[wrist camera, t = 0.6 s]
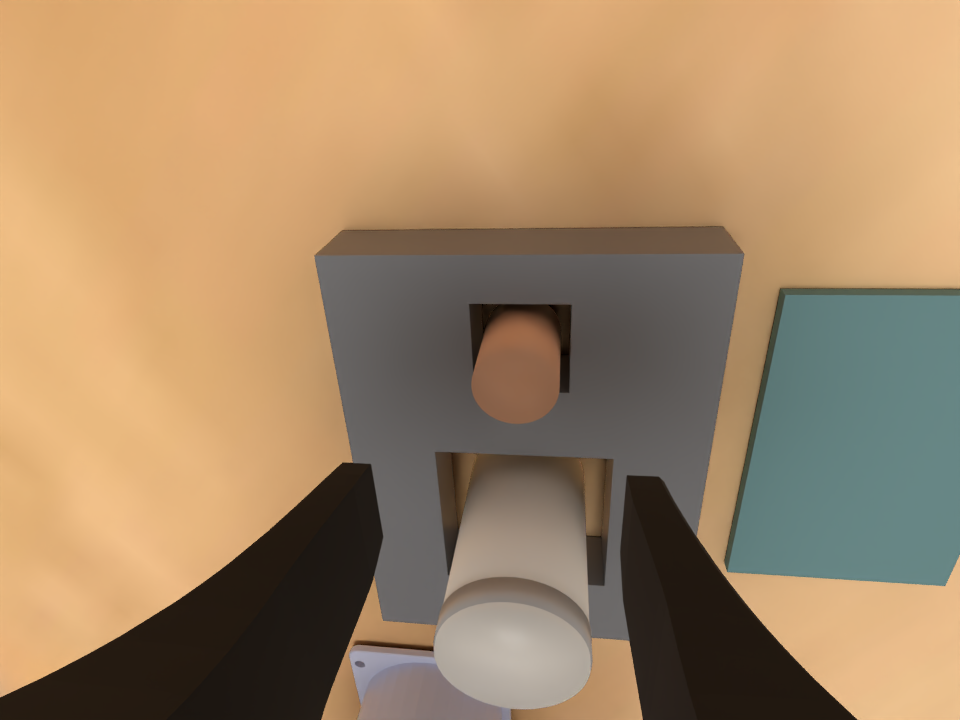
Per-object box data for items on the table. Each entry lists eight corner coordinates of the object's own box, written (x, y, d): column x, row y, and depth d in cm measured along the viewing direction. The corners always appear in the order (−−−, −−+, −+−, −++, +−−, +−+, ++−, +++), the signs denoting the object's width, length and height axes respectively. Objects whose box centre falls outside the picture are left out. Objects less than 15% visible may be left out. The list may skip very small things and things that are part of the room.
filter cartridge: (583, 522, 24) (589, 717, 18) (474, 516, 25) (438, 702, 18) (587, 432, 22) (596, 614, 15) (468, 427, 23) (425, 600, 16)
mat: (938, 575, 23) (945, 585, 23) (724, 562, 25) (727, 571, 24) (1067, 289, 18) (1079, 296, 17) (780, 288, 19) (785, 294, 18)
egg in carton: (560, 364, 20) (558, 425, 17) (487, 362, 20) (473, 422, 17) (561, 296, 19) (560, 349, 16) (484, 296, 19) (468, 347, 16)
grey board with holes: (668, 592, 26) (678, 644, 24) (397, 573, 27) (382, 620, 25) (723, 226, 18) (744, 253, 16) (342, 230, 20) (314, 255, 18)
